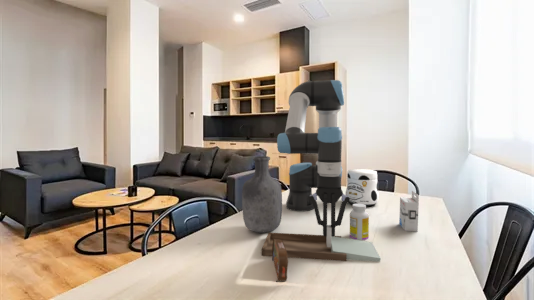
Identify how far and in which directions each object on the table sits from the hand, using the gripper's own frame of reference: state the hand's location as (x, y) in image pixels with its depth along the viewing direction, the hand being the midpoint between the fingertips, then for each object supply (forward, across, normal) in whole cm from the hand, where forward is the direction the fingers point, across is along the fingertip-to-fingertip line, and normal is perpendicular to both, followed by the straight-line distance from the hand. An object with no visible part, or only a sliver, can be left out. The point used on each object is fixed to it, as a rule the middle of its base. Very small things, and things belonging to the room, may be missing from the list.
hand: (328, 245), depth 90 cm
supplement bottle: (+3, +12, +13) cm, 18 cm away
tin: (+3, -15, -15) cm, 21 cm away
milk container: (+3, +21, +64) cm, 68 cm away
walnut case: (+3, -8, 0) cm, 9 cm away
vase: (+3, -25, +17) cm, 31 cm away
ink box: (+3, +34, +28) cm, 44 cm away
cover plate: (+2, +8, 0) cm, 8 cm away
